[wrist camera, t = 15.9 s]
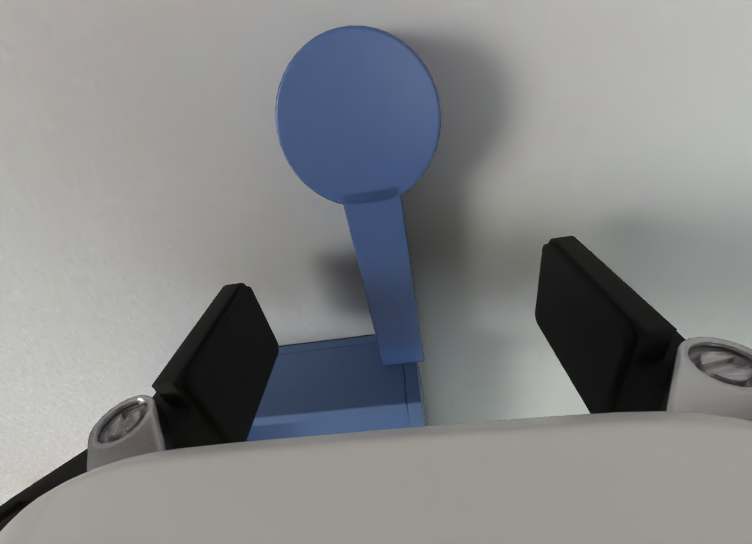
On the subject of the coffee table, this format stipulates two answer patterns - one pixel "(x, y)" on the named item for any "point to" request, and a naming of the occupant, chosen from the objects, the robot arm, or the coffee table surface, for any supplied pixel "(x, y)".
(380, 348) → the blue spoon
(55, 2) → the coffee table surface
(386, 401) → the blue bin
